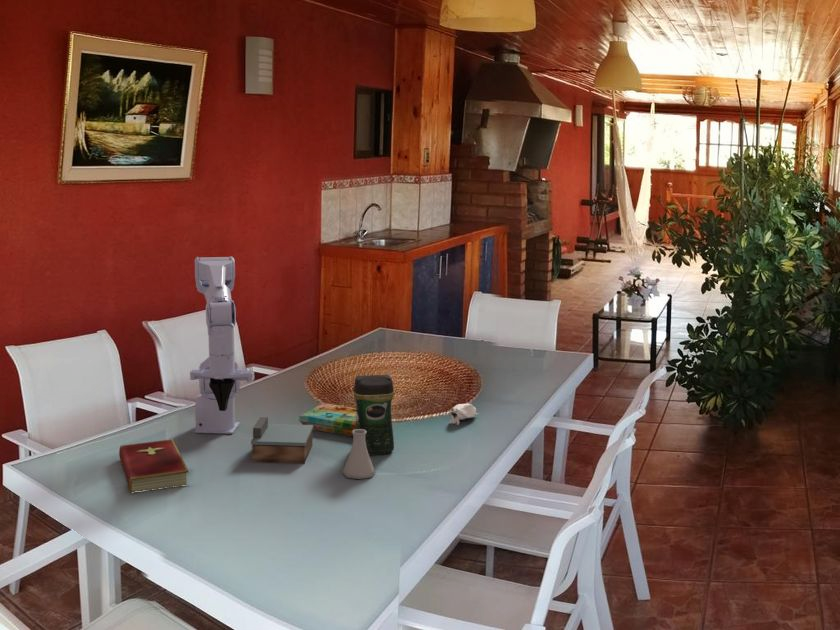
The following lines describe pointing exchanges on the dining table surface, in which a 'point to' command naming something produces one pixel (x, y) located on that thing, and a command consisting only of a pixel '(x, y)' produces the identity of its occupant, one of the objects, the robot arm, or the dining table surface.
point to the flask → (359, 458)
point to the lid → (280, 433)
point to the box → (281, 453)
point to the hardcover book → (152, 465)
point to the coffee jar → (375, 411)
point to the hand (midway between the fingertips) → (223, 409)
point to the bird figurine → (462, 412)
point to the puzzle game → (331, 419)
